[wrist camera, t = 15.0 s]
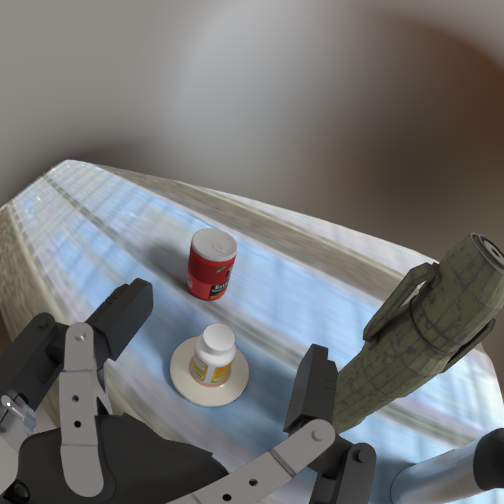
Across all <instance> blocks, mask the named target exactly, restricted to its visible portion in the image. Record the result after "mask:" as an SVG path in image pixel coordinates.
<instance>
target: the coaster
mask: <svg viewBox="0 0 504 504" xmlns="http://www.w3.org/2000/svg"><path fill="white" fill-rule="evenodd" d="M198 337H199V336H195V337H192V338H190V339H187V340H186V341H184V342H183V343H181V344H180V345H179V346H178V347H177V348H176V350H175V351H174V353H173V355H172V358H171V363H170V375H171V379H172V382H173V385H174V387H175V388H176V390H177V391H178V392H179V393H180V395H181V396H183V397H184V398H185V399H186V400H188V401H189V402H191V403H193V404H196V405H198V406H202V407H208V408H216V407H221V406H225V405H228V404H230V403H231V402H233V401H235V400H236V399H237V398H238V397H239V396H240V395H241V393H242V392H243V390H244V389H245V387H246V385H247V383H248V380H249V367H248V363H247V360H246V358H245V356H244V355H243V353H242V352H241V351H240V350H239V349H238V348H237V347H236V354H235V357H234V359H233V362H232V364H231V366H230V368H229V371H228V373H227V375H226V377H225V378H224V379H223V380H222V381H220V382H218V383H214V384H208V383H204V382H202V381H200V380H199V379H198V378H197V377H196V376H195V375H194V373H193V370H192V361H193V355H194V349H195V344H196V340H197V338H198Z"/></svg>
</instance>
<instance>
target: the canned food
mask: <svg viewBox="0 0 504 504" xmlns="http://www.w3.org/2000/svg"><path fill="white" fill-rule="evenodd" d="M236 253H237V243H236V241H235V239H234V238H233V237H232V236H230V235H229V234H227V233H226V232H224V231H221V230H217V229H202V230H199V231H197V232H196V233H195V234H194V235H193V238H192V241H191V247H190V255H189V263H188V271H187V280H186V281H187V286H188V289H189V291H190V292H191V293H192V294H193V295H194V296H195V297H197V298H199V299H202V300H206V301H211V300H216V299H218V298H220V297H221V296H222V295H223V294H224V293H225V291H226V288H227V285H228V281H229V278H230V274H231V271H232V268H233V264H234V261H235V257H236Z"/></svg>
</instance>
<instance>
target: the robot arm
mask: <svg viewBox="0 0 504 504" xmlns="http://www.w3.org/2000/svg"><path fill="white" fill-rule="evenodd" d="M152 309H153V290H152V284H151V283H149V282H147V281H145V280H142V279H140V278H136V279H135V280H134V281H133V282H132V283H131V284H130V285H128V284H124V285H122V286H120V287H118V288H116V289H115V290H114V291H113V293H112V294H111V295H110V296H109V297H108V298H107V299H106V300H105V302H103V303H102V304H101V305H100V306H99V307H98V308H97V310H96V311H95V312H94V313H93V314H92V315H91V316H90V317H89V318H88V319H87V320H86V321H85V322H84V323H83V322H78V323H75V324H73V325H71V326H68V325H65V324H61V323H57V322H55V320H54V317H53V316H52V315H51V314H49V313H40V314H38V315H36V316H35V317H34V318H33V319H32V320H31V321H30V323H29V324H28V325H27V326H26V327H25V328H24V330H23V331H22V332H21V333H20V334H19V336H18V337H17V338H16V339H15V340H14V342H13V343H12V344H11V345H10V347H9V348H8V349H7V351H6V352H5V353H4V354H3V356H2V357H1V358H0V436H1V437H2V438H3V439H4V440H5V441H6V442H7V443H8V444H9V445H10V446H11V447H12V448H13V449H14V450H16V451H17V452H18V453H19V459H18V460H19V462H18V472H17V476H16V479H15V481H14V482H13V483H12V484H11V485H10V486H9V487H8V488H7V489H6V490H5V491H4V492H3V493H2V494H1V495H0V504H255V503H257V502H259V501H260V500H262V499H263V498H265V497H266V496H268V495H269V494H271V493H272V492H274V491H275V490H277V489H278V488H280V487H281V486H283V485H284V484H285V483H287V482H288V481H290V480H291V479H292V478H293V477H294V476H295V474H297V473H298V472H299V471H300V470H302V469H303V468H304V467H305V466H307V467H309V468H311V469H312V470H314V471H316V472H318V475H317V479H316V482H315V486H314V489H313V492H312V495H311V498H310V501H309V504H367V503H368V499H369V495H370V490H371V485H372V480H373V474H374V469H375V462H376V453H375V450H374V449H373V447H372V446H371V445H369V444H367V443H357V444H353V443H351V442H349V441H347V440H345V439H343V438H342V437H340V436H339V435H338V434H337V433H336V432H335V430H334V428H333V424H332V418H333V411H334V403H335V395H336V392H335V391H336V386H337V384H336V383H337V376H338V371H337V368H336V365H335V362H333V361H330V360H327V358H328V348H326V347H323V346H320V345H316V344H312V345H311V346H310V348H309V350H308V351H307V353H306V354H305V356H304V358H303V359H302V361H301V363H300V365H299V368H298V371H297V375H296V379H295V384H294V388H293V393H292V397H291V401H290V405H289V409H288V413H287V417H286V421H285V425H284V429H283V432H287V433H289V436H288V438H287V439H286V440H284V441H283V442H281V443H280V444H279V445H277V446H276V447H274V448H272V449H271V450H269V451H267V452H266V453H264V454H263V455H261V456H259V457H258V458H256V459H255V460H253V461H251V462H250V463H248V464H246V465H245V466H243V467H241V468H239V469H238V470H236V471H234V472H232V473H231V474H229V473H228V471H227V470H226V469H225V467H224V466H223V465H222V464H221V463H220V462H218V461H217V460H216V459H214V458H213V457H211V456H212V454H213V453H211V452H208V451H206V450H203V449H200V448H198V447H195V446H193V445H190V444H185V443H180V442H175V441H170V440H165V439H163V438H162V437H160V436H159V435H158V434H157V433H155V432H154V431H153V430H152V429H151V428H149V427H148V426H147V425H146V424H145V423H143V422H141V421H139V420H137V419H135V418H134V417H132V416H130V415H128V414H126V413H125V412H124V414H123V415H122V416H119V415H113V414H112V409H111V404H110V401H109V398H108V390H107V380H106V368H105V362H106V360H107V359H108V358H110V359H112V360H113V361H116V360H117V358H118V357H119V356H120V354H121V353H122V351H123V350H124V349H125V347H126V346H127V345H128V343H129V342H130V341H131V339H132V338H133V337H134V335H135V334H136V333H137V331H138V330H139V329H140V327H141V326H142V325H143V323H144V322H145V321H146V320H147V318H148V317H149V316H150V314H151V312H152ZM63 368H64V371H62V369H63ZM59 374H60V376H59V401H60V422H61V427H60V428H57V429H53V430H50V431H45V432H41V433H37V434H33V428H35V427H36V416H35V410H36V409H37V407H38V406H39V404H40V403H41V401H42V399H43V398H44V396H45V395H46V393H47V392H48V390H49V389H50V387H51V386H52V384H53V383H54V381H55V380H56V378H57V377H58V375H59ZM494 488H504V428H499V429H496V430H494V431H492V432H490V433H488V434H486V435H485V436H483V437H481V438H479V439H477V440H475V441H473V442H471V443H469V444H467V445H465V446H463V447H461V448H458V449H456V450H455V449H453V450H451V451H448V452H446V453H444V454H441V455H439V456H436V457H434V458H431V459H428V460H426V461H423V462H420V463H417V464H416V465H414V466H411V467H408V468H406V469H404V470H402V471H401V472H400V473H399V474H398V475H397V477H396V478H395V480H394V482H393V485H392V488H391V499H392V502H393V504H445V503H449V502H453V501H457V500H460V499H464V498H467V497H470V496H473V495H476V494H479V493H482V492H485V491H488V490H491V489H494Z"/></svg>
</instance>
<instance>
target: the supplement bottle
mask: <svg viewBox="0 0 504 504" xmlns="http://www.w3.org/2000/svg"><path fill="white" fill-rule="evenodd" d="M235 354H236V345H235V334H234V332H233V331H232V329H231V328H230V327H228V326H226V325H224V324H221V323H214V324H211V325H209V326H207V327H206V328H205V330H204V332H203V333H202V334H201V335H200V336H199V337H198V338H197V340H196V344H195V349H194V355H193V361H192V370H193V373H194V375H195V376H196V377H197V378H198V379H199V380H200V381H202V382H204V383H208V384H214V383H218V382H220V381H222V380H223V379H224V378H225V377H226V375H227V373H228V371H229V368H230V366H231V364H232V362H233V359H234V357H235Z"/></svg>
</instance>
